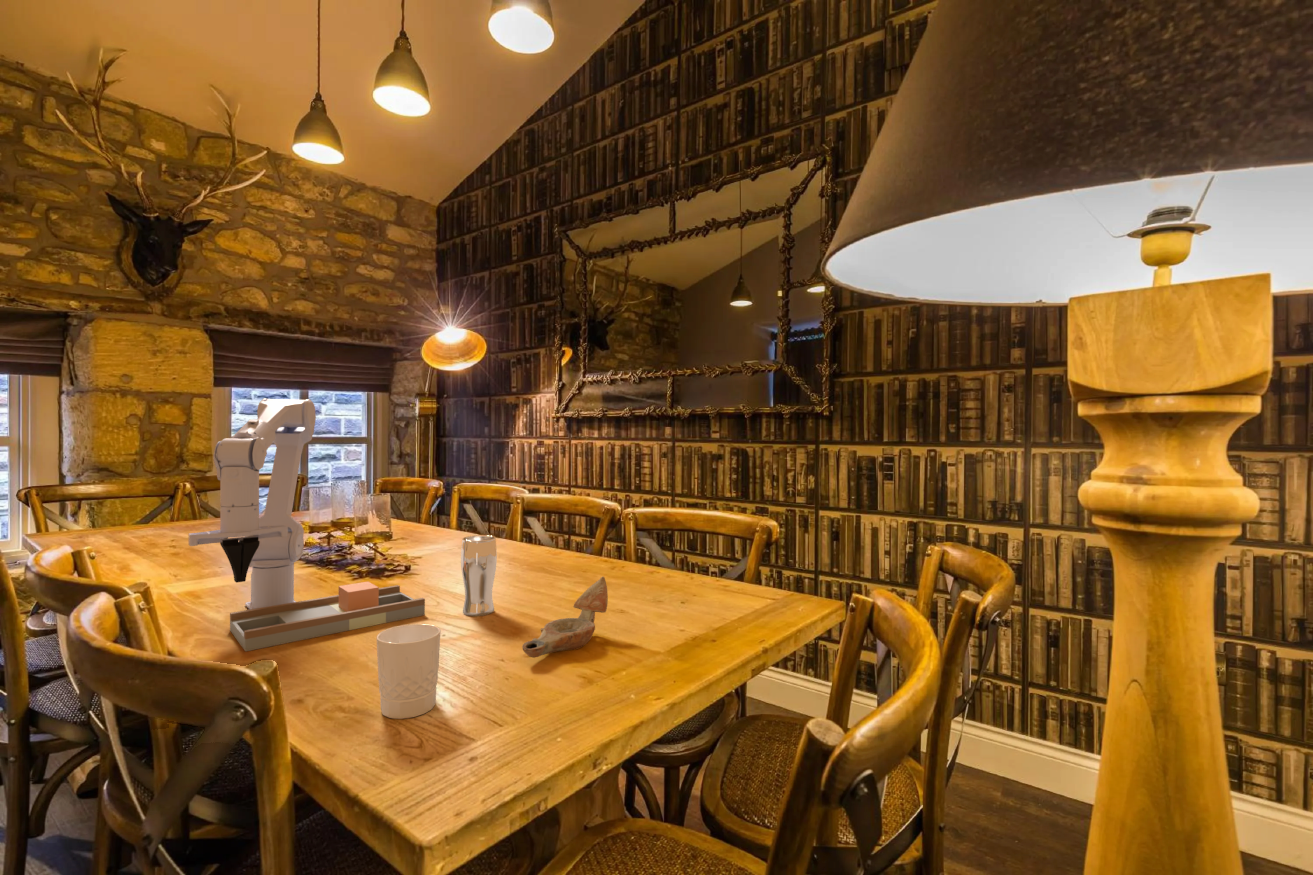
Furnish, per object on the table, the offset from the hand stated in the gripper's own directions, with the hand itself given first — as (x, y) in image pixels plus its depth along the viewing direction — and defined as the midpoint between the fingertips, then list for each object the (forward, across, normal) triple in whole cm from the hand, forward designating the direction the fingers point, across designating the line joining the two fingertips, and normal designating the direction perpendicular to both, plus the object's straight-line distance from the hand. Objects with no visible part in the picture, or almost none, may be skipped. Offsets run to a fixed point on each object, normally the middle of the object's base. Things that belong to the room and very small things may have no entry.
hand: (239, 580), depth 109 cm
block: (+7, +19, -4) cm, 21 cm away
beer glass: (+10, +38, -16) cm, 42 cm away
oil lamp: (+10, +40, -44) cm, 60 cm away
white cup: (+10, +11, -49) cm, 51 cm away
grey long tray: (+9, +14, -4) cm, 17 cm away
